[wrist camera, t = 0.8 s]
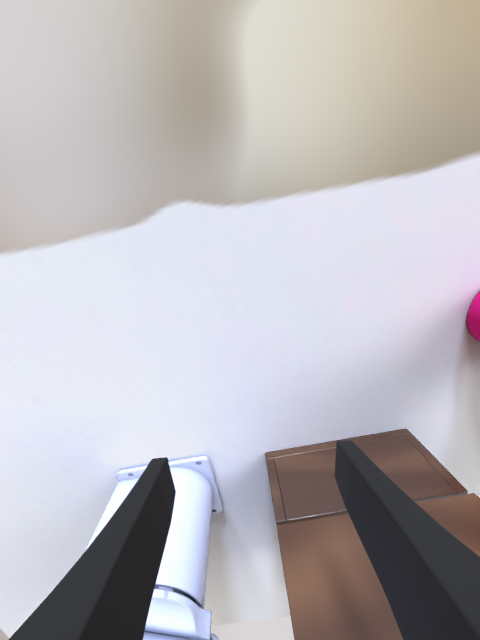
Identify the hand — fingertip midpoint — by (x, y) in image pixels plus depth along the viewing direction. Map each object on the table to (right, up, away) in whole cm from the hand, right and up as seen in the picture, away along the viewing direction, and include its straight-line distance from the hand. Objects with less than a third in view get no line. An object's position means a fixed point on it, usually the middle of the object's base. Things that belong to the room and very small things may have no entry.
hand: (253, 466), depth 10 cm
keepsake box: (+10, -12, +15) cm, 21 cm away
